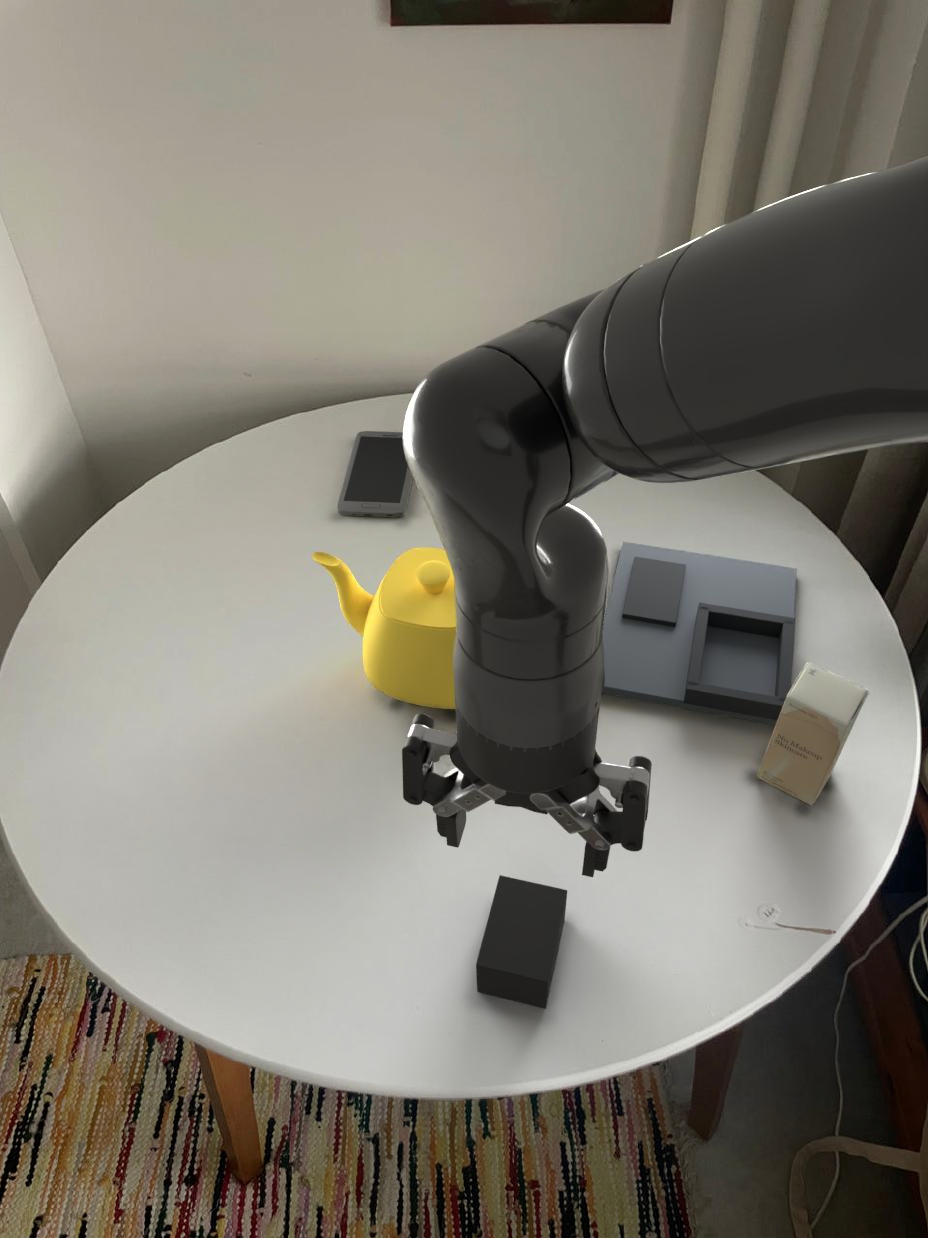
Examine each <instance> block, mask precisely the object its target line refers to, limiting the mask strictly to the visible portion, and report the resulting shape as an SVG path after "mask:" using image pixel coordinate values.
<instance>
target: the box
mask: <svg viewBox="0 0 928 1238" xmlns="http://www.w3.org/2000/svg"><path fill="white" fill-rule="evenodd" d="M869 694H870V690H869V689H868V688H866V687H864V686H863V685H860V684H858V683H856V682H853V680H850V679H848V678H845V677H844V676H841V675H839V674H836V673H834V672H833V671H830V670H827V669H825V668H823V667H821V666H818V665H816V664H814V663H812V662H810V661H807V662H806V663H805V665H804V666H803V667H802V669H801V671H800V672H799V674H798V676H797V677H796V679H795V680H794V682H793V684H791V689H790V691H789V693H788V694H787V697H786V699H785V702H784V705H783V707H782V710H781V712H780V715H779V718H778V720H777V723H776V725H774V729H773V731H772V734H771V737H770V740H769V742H768V745H767V748H766V750H765V753H764V755H763V758H762V760H761V763H760V765H759V769H758V772H757V773H756V777H757V778H758V779H759V780H761V781H763V782H765V783H766V784H769V785H771V786H772V787H775V788H776V789H778V790H780V791H782V792H784V793H786V794H787V795H789V796H791V797H793V798H795V799H797V800H799V801H801V802H803V803H805V804H807V805H809V806H813V805H814V804H815V802H817V799H818V798H819V796H820V795H821V793H822V792H823V789H824V788H825V786H826V784H827V782H828V780H829V779H830V777H831V775H832V773H833V770H834V768H835V767H836V765H837V762H838V759H839V758H840V755H841V754H842V751H843V749H844V747H845V744H846V743H847V740H848V738H849V736H850V734H851V732H852V731H853V730H852V729H853V728H854V725H855V724H856V721H857V718H858V717H859V714H860V712H861V710H862V708H863V706H864V704H865V702H866V699H867V697H868V696H869Z"/></svg>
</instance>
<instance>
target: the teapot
mask: <svg viewBox="0 0 928 1238" xmlns="http://www.w3.org/2000/svg"><path fill="white" fill-rule="evenodd" d="M311 556H312V559H313V560H314V561H315V562H316V563H317V564H319V565H320V566H321V567H322V568H324V569H325V570H326V572H328V574H329V575H330V576H331V578H332V579H333V582H334V584H335V587H336V591H337V596H338V601H339V606H340V610H341V612H342V615H343V617H344V619H345V620H346V622H347V624H348V625H349V626H350V627H351V629H353V630H354V631H355V632H357V634H359V635H360V636H362V664H363V671H364V673H365V676H366V678H367V679H368V681H369V682H370V684H371V685H372V686H373V687H374V688H375V689H376V690H377V691H379V692H381V693H382V694H385V695H386V696H388V697H390V698H393V699H395V700H398V701H401V702H405V703H408V704H412V705H417V706H422V707H427V708H434V709H436V708H437V709H443V710H456V709H455V693H454V674H453V650H454V642H455V636H456V615H455V595H454V576H453V572H452V569H451V566H450V563H449V561H448V558H447V555H446V552H445V550H444V548H436V547H425V546H424V547H413V548H410V549H408V550H406V551H404V552H403V553H402V554H400V556H398V557H397V558H396V559H395V560H394V562H393V563H392V564H391V566H390V567H389V568H388V571H387V572H386V573H385V575H384V577H383V578H382V579H381V582H380V584H379V585H378V588H377V590H376V591H375V594H374V595H372V594H371V593H369V592H368V591H366V590H365V589H364V588H363V587H361V585H360V584H359V583H358V581H357V579H356V577H355V576H354V574H353V572H352V571H351V569H350V568H349V567H348V565H347V564H346V563H345V562H344V561H342V560H341V559H339V557H336V556H334V555H332V554H330V553H327V552H322V551H315V552H313V553H312V554H311Z"/></svg>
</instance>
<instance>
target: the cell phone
mask: <svg viewBox="0 0 928 1238" xmlns="http://www.w3.org/2000/svg"><path fill="white" fill-rule="evenodd" d="M413 480H414V479H413V477H412V475H411V472H410V469H409V467H408V464H407V461H406V458H405V454H404V449H403V431H402V432H399V431H377V430H376V431H373V430H365V431H363V430H362V431H359V432H358V433H356V436H355V438H354V442H353V446H352V449H351V452H350V456H349V460H348V463H347V468H346V471H345V475H344V479H343V482H342V485H341V489H340V494H339V496H338V501H337V513H338V514H339V515H342V516H354V517H356V516H357V517H358V516H359V517H376V518H377V517H378V518H379V517H380V518H402V517H405V515H406V512H407V509H408V504H409V500H410V499H409V498H410V494H411V489H412V485H413V484H412V483H413Z"/></svg>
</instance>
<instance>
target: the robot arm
mask: <svg viewBox="0 0 928 1238" xmlns="http://www.w3.org/2000/svg"><path fill="white" fill-rule="evenodd" d="M402 432H403V449H404V454H405V458H406V461H407V464H408V467H409V469H410V472H411V475H412V477H413V479H412V480H413V481H414V483H415V485H416V488H417V489H418V491H419V493H420V495H421V498H422V499H423V501H424V503H425V506H426V507H427V509H428V511H429V514H430V516H431V519H432V521H433V523H434V526H435V528H436V532H437V533H438V537H439V538H440V539H439V540H440V541H441V543H442V546H443V549H444V550H445V552H446V555H447V558H448V561H449V563H450V566H451V569H452V572H453V576H454V595H455V615H456V636H455V642H454V650H453V674H454V693H455V709H454V710H455V724H456V725H455V726H456V733H454V732H449V731H445V730H441V729H436V728H435V720H434V718H433V717H432V716H430V715H428V714H426V713H417V714H415V715H414V717H413V719H412V722H411V725H410V728H409V730H408V733H407V736H406V738H405V741H404V744H403V746H402V749H401V764H402V765H401V767H402V768H401V769H402V798H403V800H404V801H405V802H406V803H408V804H410V805H414V806H421V805H422V804H423V803H425V804H426V803H427V804H429V805H430V806H431V807H432V812H433V813H434V814H435V818H436V819H435V820H436V821H435V822H436V829H437V830H436V831H437V833H438V835H439V836H440V837H443V838H446V846H449V847H453V848H458V849H459V847H460V845H461V842H462V838H463V835H464V831H465V828H466V823H467V813H470V812H472V811H473V810H475V809H477V808H479V807H480V806H482V805H484V804H486V803H488V802H489V801H493V802H494V804H495V805H500V806H504V807H512V808H522V809H525V810H528V811H530V812H533V813H537V814H543V815H549V816H550V817H551V818H553V819H554V820H555V822H556V823H558V825H559V826H560V827H562V829H564V830H565V831H566V832H567V833H568V834H570V835H572V834H578V835H579V836H580V837H581V838H582V839H583V840H584V841H585V846H584V853H583V860H582V861H583V862H582V869H581V870H582V871H581V876H585V877H589V878H594V875H595V871H598V872H604V871H605V870H606V869H607V867H608V863H609V862H608V861H609V856H610V851H611V847H612V845H617V844H619V845H621V847H622V848H623V849H624V850H626V851H629V852H640V851H642V849H643V846H644V839H645V838H644V837H645V836H644V835H645V828H646V821H647V820H648V814H649V806H650V805H649V804H650V792H651V791H650V790H651V778H652V766H653V765H652V761H651V760H650V759H649V758H648V757H646V756H642V755H635V756H632V757H631V758H630V759H629V763H628V766H627V765H619V764H613V763H608V762H603V760H602V758H601V756H600V755H599V753H598V752H597V749H596V746H597V745H596V744H597V735H598V728H599V727H598V726H599V718H600V716H599V715H600V709H601V699H602V693H601V691H602V689H603V686H604V684H605V670H604V645H603V626H604V622H605V616H606V614H605V613H606V605H607V603H606V602H607V594H608V584H609V583H608V582H609V570H610V569H609V555H608V548H607V544H606V541H605V538H604V536H603V533H602V531H601V529H600V528H599V526H598V525H597V524H596V522H595V521H594V520H593V519H592V518H591V517H590V516H589V515H588V514H586V512H584V511H583V510H581V509H580V508H578V507H576V506H574V505H571V504H570V503H571V502H574V501H575V500H577V499H578V498H581V497H582V496H584V495H586V494H587V493H589V492H591V491H592V490H594V489H596V488H598V487H599V486H601V485H602V484H604V483H606V482H608V481H609V480H611V479H613V478H614V477H616V476H617V475H621V476H624V477H627V478H629V479H633V480H636V481H641V482H646V483H653V484H654V483H655V484H679V483H690V482H697V481H703V480H709V479H715V478H720V477H725V476H726V477H727V476H731V475H736V474H742V473H748V472H753V471H758V470H763V469H769V468H774V467H780V466H784V465H789V464H790V465H791V464H795V463H801V462H805V461H811V460H817V459H821V458H827V457H834V456H838V455H845V454H850V453H855V452H856V453H857V452H863V451H868V450H875V449H883V448H887V447H888V448H890V447H895V446H903V445H911V444H920V443H928V155H926V156H922V157H920V158H916V159H914V160H911V161H908V162H905V163H902V164H898V165H895V166H892V167H889V168H885V169H882V170H878V171H873V172H870V173H866V174H862V175H858V176H854V177H850V178H845V179H842V180H838V181H835V182H831V183H828V184H824V185H822V186H821V185H820V186H818V187H814V188H812V189H809V190H806V191H803V192H800V193H797V194H794V195H791V196H789V197H786V198H783V199H782V200H779V201H777V202H774V203H772V204H768V205H767V206H764V207H761V208H759V209H757V210H755V211H753V212H751V213H748V214H745V215H744V216H741V217H739V218H738V219H734V220H732V221H730V222H728V223H726V224H723V225H722V226H719V227H716V228H715V229H713V230H710V231H708V232H707V233H705V234H703V235H701V236H699V237H697V238H695V239H693V240H691V241H689V242H686V243H685V244H682V245H680V246H678V247H676V248H674V249H673V250H670V251H669V252H666V253H664V254H663V255H660V256H657V257H656V258H654V259H652V260H650V261H649V262H646V263H643V264H642V265H640V266H639V267H637V268H635V269H633V270H632V271H630V272H628V273H627V274H624V275H623V276H622V277H620V278H618V279H616V280H615V281H614V282H613V283H612V284H610V285H608V286H606V287H605V288H603V289H600V290H597V291H595V292H592V293H590V294H587V295H585V296H583V297H580V298H578V299H575V300H573V301H571V302H569V303H568V302H567V303H566V304H564V305H561V306H560V307H557V308H555V309H553V310H551V311H549V312H546V313H544V314H541V315H539V316H538V317H535V318H534V319H531V320H529V321H527V322H525V323H523V324H522V325H518V326H517V327H515V328H513V329H511V330H509V331H506V332H505V333H502V334H500V335H498V336H496V337H494V338H492V339H490V340H488V341H486V342H483V343H481V344H479V345H477V346H476V347H475V346H474V348H470V349H469V350H466V351H464V352H462V353H460V354H458V355H456V356H453V357H451V358H450V359H448V360H446V361H444V362H442V363H440V364H439V365H437V366H436V367H434V368H433V369H432V370H430V371H429V372H427V374H425V375H424V377H423V378H422V379H421V380H420V381H419V382H418V384H417V385H416V388H415V389H414V391H413V393H412V395H411V397H410V400H409V402H408V404H407V407H406V411H405V415H404V419H403V425H402ZM443 756H449V759H450V761H451V763H452V765H453V766H454V767H453V768H451V769H450V770H448V771H447V772H445V773H444V774H443V775H441V774H440V773H436V772H434V769H435V768H434V767H435V766H434V765H435V763H438V762H439V761H440V759H441V758H442V757H443ZM600 787H603V788H605V789H607V790H608V791H609V794H610V796H611V798H613V799H614V805H612V803H610V801H609V800H608V799H607V798H606V797H605V796H604V795H603V794H602V793H601V791H600ZM615 807H616V808H617V809H622V810H620V811H617V809H616V808H615Z"/></svg>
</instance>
